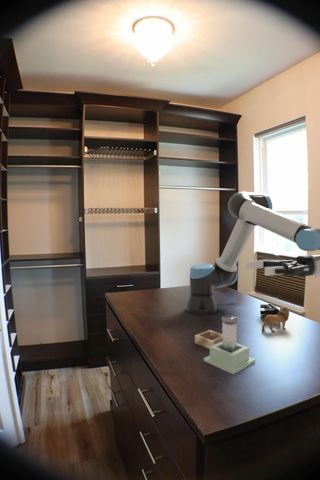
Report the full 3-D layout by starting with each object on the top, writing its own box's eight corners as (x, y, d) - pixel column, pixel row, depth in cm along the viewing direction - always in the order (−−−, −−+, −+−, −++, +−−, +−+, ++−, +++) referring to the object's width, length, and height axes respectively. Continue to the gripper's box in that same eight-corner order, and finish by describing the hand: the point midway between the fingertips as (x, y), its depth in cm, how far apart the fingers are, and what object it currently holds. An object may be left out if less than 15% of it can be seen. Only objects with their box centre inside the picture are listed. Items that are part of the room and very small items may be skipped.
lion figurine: (282, 324, 141) (282, 304, 140) (292, 328, 136) (292, 307, 135) (257, 330, 134) (258, 309, 133) (267, 334, 129) (268, 313, 128)
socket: (203, 361, 107) (203, 346, 106) (226, 350, 115) (226, 337, 114) (233, 374, 98) (233, 358, 97) (255, 362, 106) (255, 347, 105)
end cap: (281, 323, 142) (282, 308, 141) (265, 323, 142) (266, 308, 142) (274, 316, 152) (275, 302, 151) (259, 316, 152) (260, 302, 152)
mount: (194, 342, 122) (194, 335, 122) (209, 337, 127) (209, 329, 127) (212, 350, 115) (212, 342, 115) (226, 343, 121) (226, 335, 121)
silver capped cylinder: (218, 361, 107) (218, 317, 105) (227, 356, 110) (228, 314, 109) (230, 366, 103) (231, 321, 101) (240, 361, 106) (240, 318, 105)
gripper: (333, 282, 105) (274, 286, 101) (289, 269, 129) (240, 272, 125) (334, 260, 104) (274, 262, 100) (289, 251, 128) (240, 253, 124)
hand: (255, 268), depth 113 cm, fingers open, 13 cm apart
